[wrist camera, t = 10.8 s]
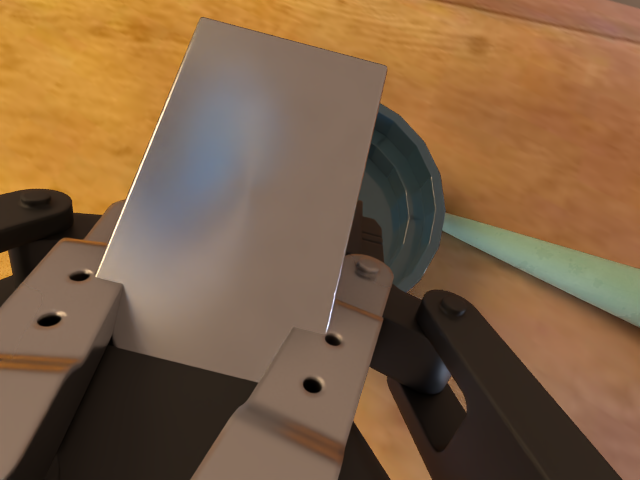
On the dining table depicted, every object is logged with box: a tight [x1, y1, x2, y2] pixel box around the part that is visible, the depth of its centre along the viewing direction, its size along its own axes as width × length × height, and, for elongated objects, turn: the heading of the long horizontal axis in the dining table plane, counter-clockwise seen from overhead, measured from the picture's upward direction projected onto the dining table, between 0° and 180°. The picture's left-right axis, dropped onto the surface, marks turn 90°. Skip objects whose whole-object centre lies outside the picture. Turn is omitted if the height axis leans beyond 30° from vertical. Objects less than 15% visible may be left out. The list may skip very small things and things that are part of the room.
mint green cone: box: [442, 213, 640, 328], centre depth 28 cm, size 5×6×27 cm
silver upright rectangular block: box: [94, 17, 387, 383], centre depth 11 cm, size 6×5×11 cm
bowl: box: [358, 103, 446, 292], centre depth 28 cm, size 16×16×5 cm
